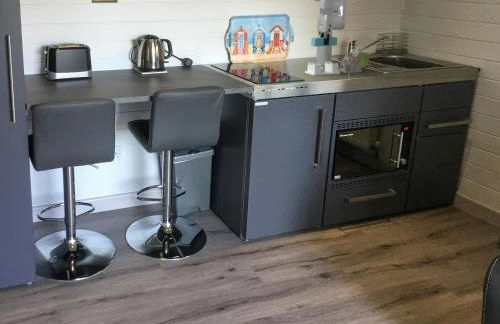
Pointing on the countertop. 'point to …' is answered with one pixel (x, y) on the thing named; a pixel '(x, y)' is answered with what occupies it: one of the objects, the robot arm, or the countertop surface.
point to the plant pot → (364, 59)
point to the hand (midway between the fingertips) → (324, 44)
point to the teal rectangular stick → (320, 41)
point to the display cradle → (322, 69)
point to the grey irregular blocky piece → (351, 62)
